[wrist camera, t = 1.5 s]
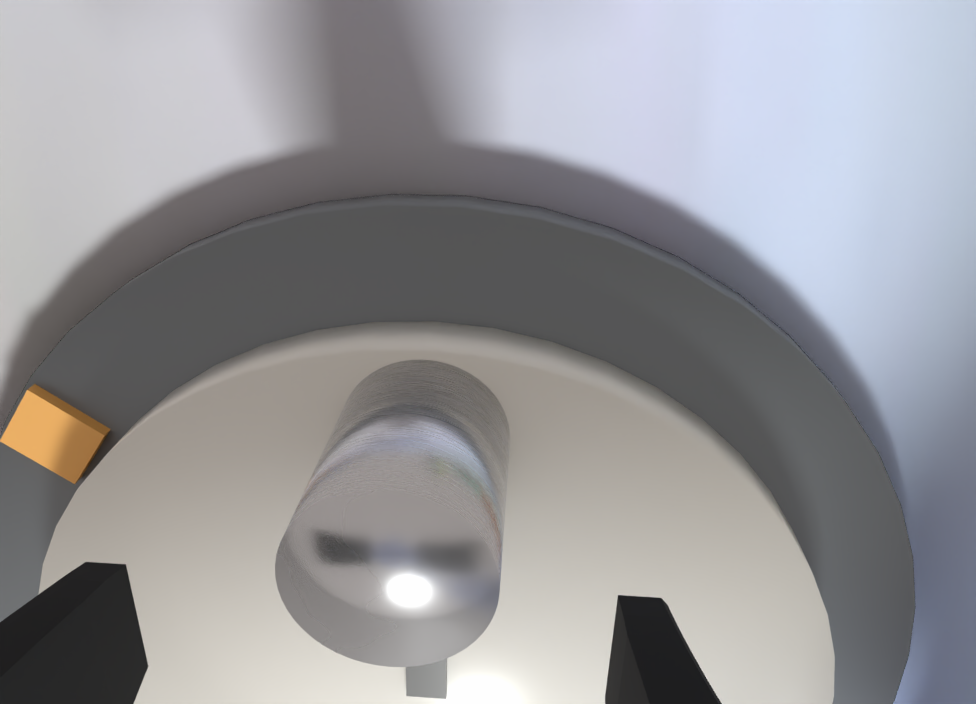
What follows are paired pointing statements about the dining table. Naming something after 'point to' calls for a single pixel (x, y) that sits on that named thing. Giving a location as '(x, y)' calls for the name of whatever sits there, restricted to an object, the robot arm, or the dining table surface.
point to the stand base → (486, 303)
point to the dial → (437, 529)
